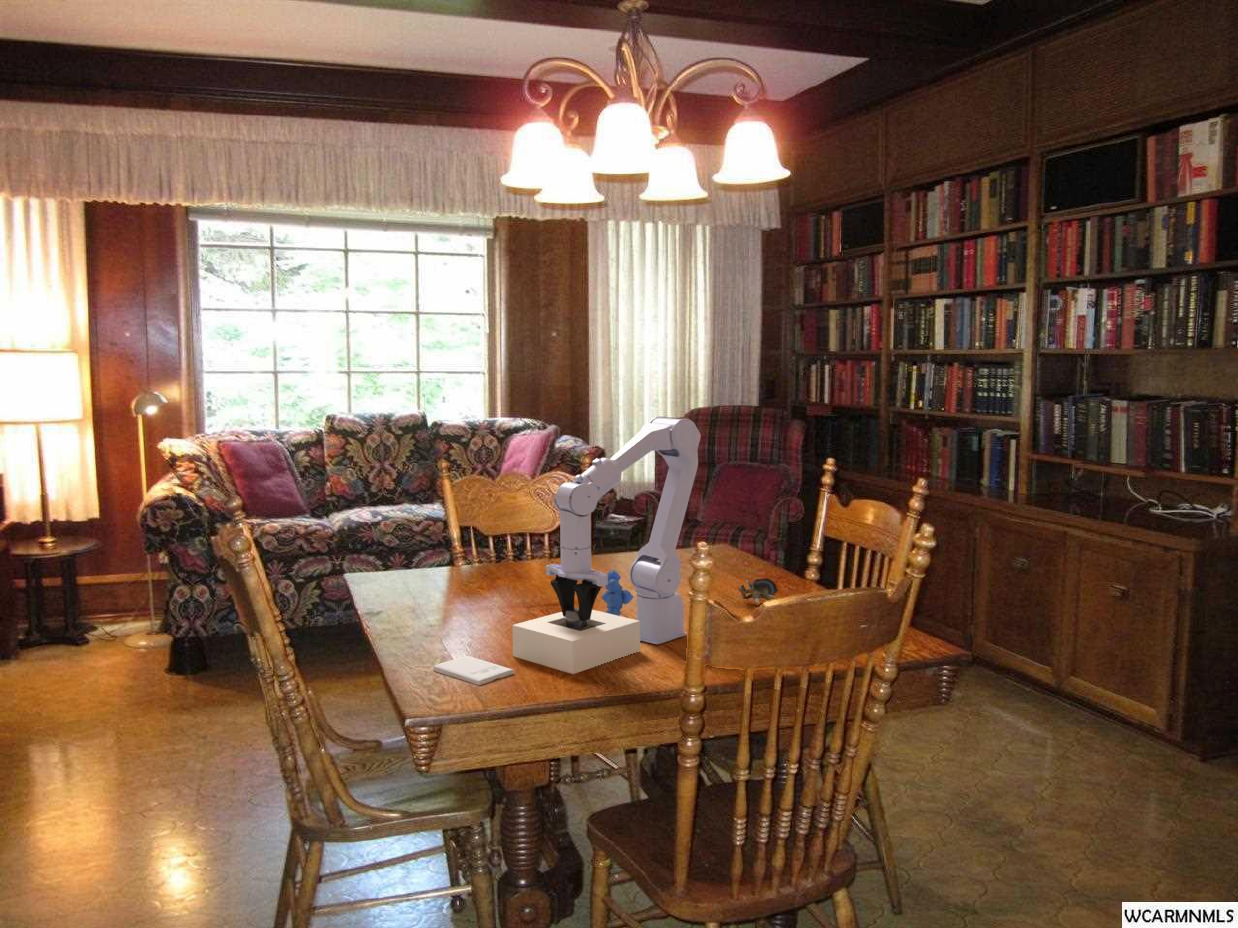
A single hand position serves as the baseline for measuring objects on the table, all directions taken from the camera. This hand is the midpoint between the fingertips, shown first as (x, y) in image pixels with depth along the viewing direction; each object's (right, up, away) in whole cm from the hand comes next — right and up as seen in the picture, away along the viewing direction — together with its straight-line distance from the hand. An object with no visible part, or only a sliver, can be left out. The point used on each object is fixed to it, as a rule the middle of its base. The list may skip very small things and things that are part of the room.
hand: (576, 617), depth 187 cm
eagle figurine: (+40, -3, +37) cm, 54 cm away
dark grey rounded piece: (0, -2, 0) cm, 2 cm away
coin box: (0, -7, +1) cm, 7 cm away
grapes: (+8, -5, +21) cm, 23 cm away
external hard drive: (-18, -9, -9) cm, 22 cm away
